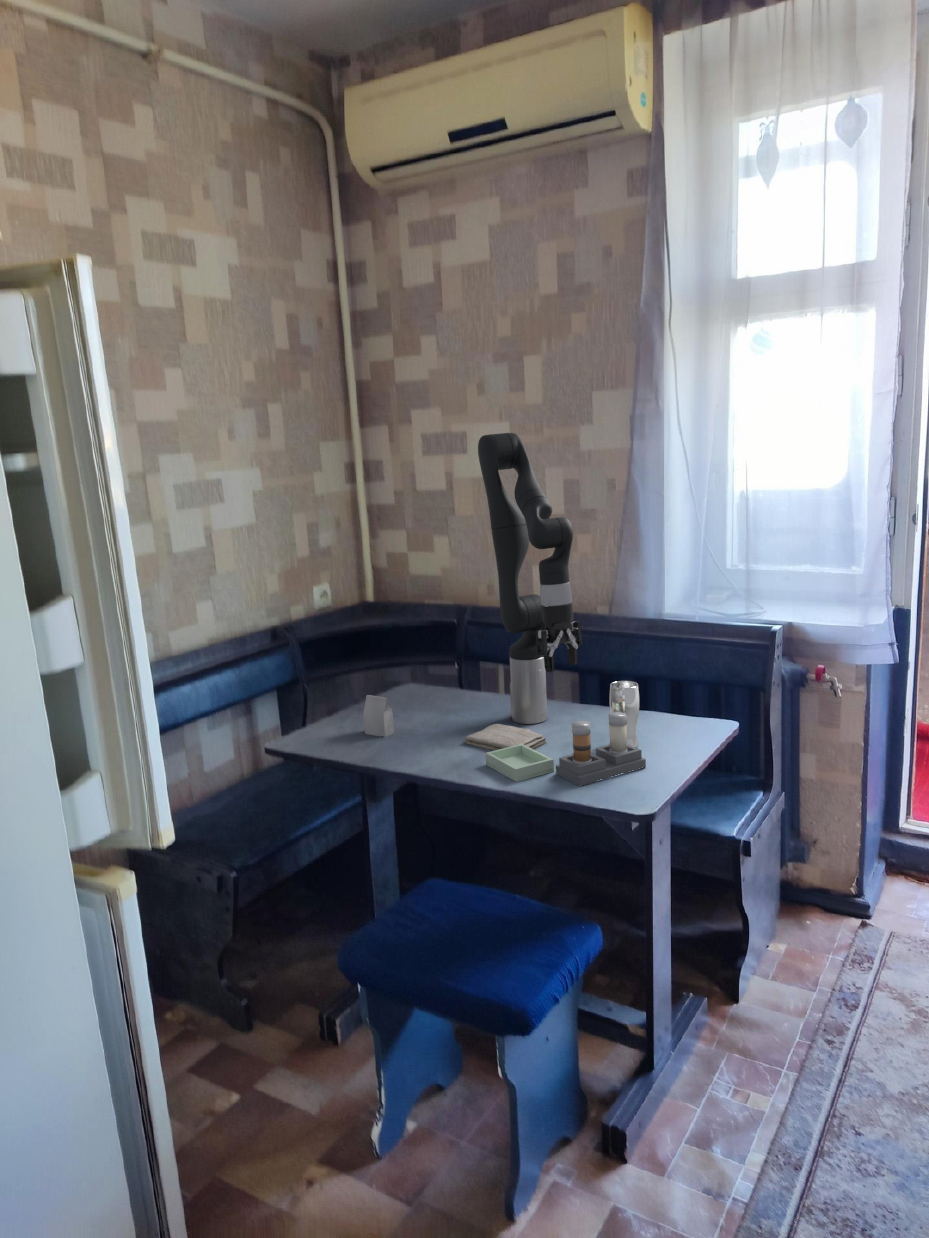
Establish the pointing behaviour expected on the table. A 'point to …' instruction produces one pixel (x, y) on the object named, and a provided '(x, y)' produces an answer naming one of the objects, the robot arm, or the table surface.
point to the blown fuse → (581, 742)
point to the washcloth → (504, 737)
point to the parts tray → (519, 762)
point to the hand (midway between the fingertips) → (561, 667)
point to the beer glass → (626, 706)
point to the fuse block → (600, 765)
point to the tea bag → (378, 716)
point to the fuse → (618, 732)
